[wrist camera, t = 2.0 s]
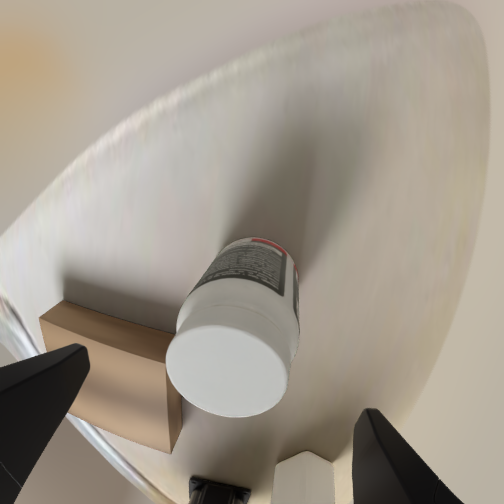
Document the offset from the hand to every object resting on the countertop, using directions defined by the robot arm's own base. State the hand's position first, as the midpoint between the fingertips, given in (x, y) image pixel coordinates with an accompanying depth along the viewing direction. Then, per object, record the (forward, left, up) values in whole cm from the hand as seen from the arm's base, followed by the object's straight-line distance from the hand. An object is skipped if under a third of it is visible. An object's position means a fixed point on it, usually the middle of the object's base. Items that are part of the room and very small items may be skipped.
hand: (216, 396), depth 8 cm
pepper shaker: (-17, -7, -9) cm, 20 cm away
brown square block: (-10, +9, -9) cm, 16 cm away
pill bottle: (0, 0, -9) cm, 9 cm away
